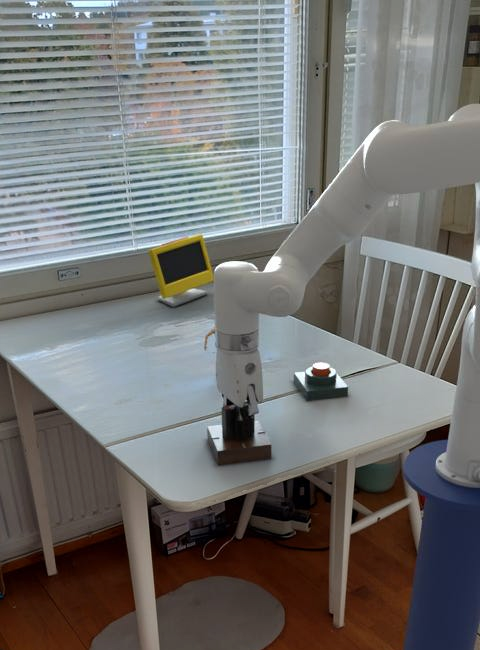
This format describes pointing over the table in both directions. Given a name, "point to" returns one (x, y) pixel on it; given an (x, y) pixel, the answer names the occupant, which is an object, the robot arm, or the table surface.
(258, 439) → the panel
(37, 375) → the table surface
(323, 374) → the button
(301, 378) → the box
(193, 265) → the toy computer monitor
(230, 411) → the handle
